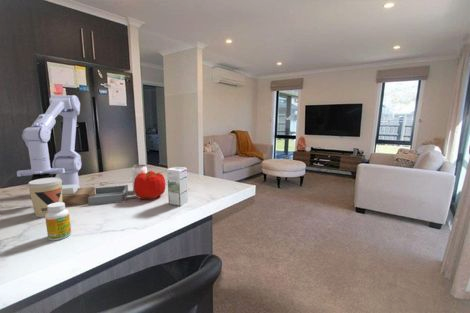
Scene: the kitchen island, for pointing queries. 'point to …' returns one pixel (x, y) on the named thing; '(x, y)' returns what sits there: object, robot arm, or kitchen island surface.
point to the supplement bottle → (57, 221)
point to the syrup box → (177, 185)
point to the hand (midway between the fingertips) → (44, 192)
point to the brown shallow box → (79, 196)
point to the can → (138, 171)
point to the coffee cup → (45, 194)
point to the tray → (109, 195)
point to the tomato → (149, 185)
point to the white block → (69, 189)
